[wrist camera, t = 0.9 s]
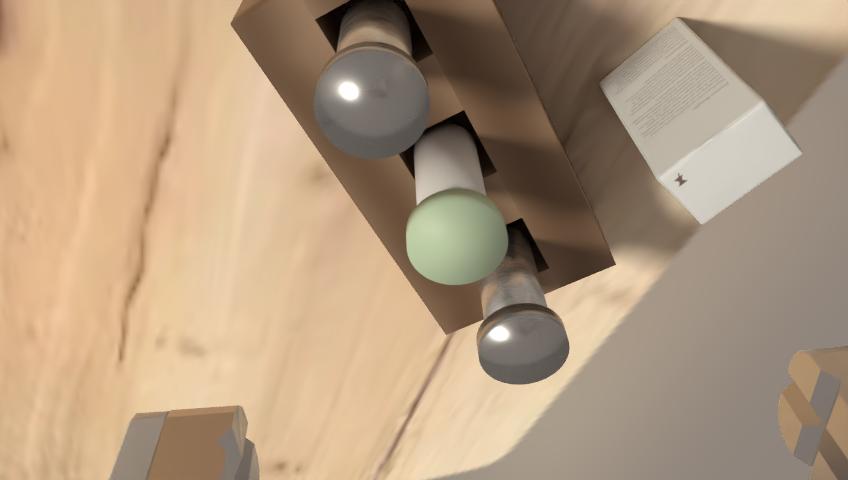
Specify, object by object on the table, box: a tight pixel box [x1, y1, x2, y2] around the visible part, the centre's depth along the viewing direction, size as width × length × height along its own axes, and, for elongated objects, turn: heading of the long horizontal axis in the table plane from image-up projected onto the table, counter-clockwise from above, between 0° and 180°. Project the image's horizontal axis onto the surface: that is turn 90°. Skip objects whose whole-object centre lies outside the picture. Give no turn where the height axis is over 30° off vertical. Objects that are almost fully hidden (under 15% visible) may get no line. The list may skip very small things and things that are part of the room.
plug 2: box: [477, 227, 569, 384], centre depth 43 cm, size 5×5×9 cm
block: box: [231, 0, 616, 335], centre depth 44 cm, size 12×24×6 cm, turn 28°
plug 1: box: [314, 0, 430, 159], centre depth 34 cm, size 5×5×9 cm
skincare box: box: [599, 18, 803, 225], centre depth 40 cm, size 6×4×12 cm
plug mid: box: [406, 123, 508, 285], centre depth 38 cm, size 5×5×9 cm
